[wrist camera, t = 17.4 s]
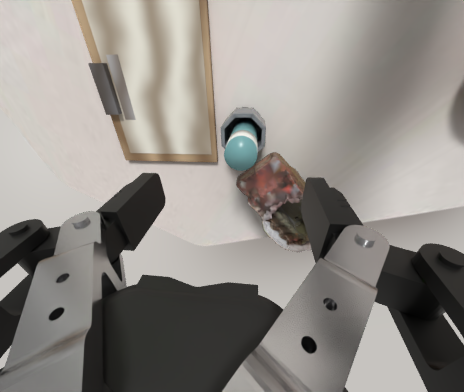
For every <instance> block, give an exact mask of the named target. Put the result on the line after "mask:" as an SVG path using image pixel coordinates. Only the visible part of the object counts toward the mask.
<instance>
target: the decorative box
mask: <svg viewBox="0 0 464 392" xmlns="http://www.w3.org/2000/svg"><path fill="white" fill-rule="evenodd" d="M236 185H237V187H238V188H239V189H240V190H241V192H242V193H243V194H244V195H246V196H247V197H248V204H249V205H250V206H251V207H252V208H253V209H254V210H256V212H257V213H258V214H259V215H260V217H261V218H262V219H263V221H262V224H263V228H264V231H265V232H266V233H267V235H268V236H269V237H270V238H272V239H273V240H274V242H275V243H277V244H278V245H279V246H281V247H282V248H285V250H291V251H296V252H302V251H305V250H312V249H311V245H310V242H309V238H308V235H307V231H306V228H305V224H304V221H303V218H302V214H301V202H302V197H303V192H304V188H305V181H304V180H303V179H302V177H301V176H300V175H299V173H298V172H297V171H296V170H295V169H294V168H292V167H291V166H289V164H288V163H287V162H286V161H285V160H284V159H283V157H282V156H280V154H278V153H276V152H273V153H270V154H269V155H267V156H266V157H265V158H263V159H262V160H260V161H259V162H257V163H256V164H255V165H253V166H252V167H251V168H249V169H248V170H246V171H245V172H244V173H242V174H241V175H240V176H238V178H237V184H236Z"/></svg>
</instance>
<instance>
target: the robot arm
mask: <svg viewBox="0 0 464 392" xmlns="http://www.w3.org/2000/svg"><path fill="white" fill-rule="evenodd" d="M164 205H165V195H164V191H163V187H162V184H161V180H160V177H159V175H158V174H157V173H142V174H141V175H140V176H139V177H138V178H137V179H135V180H134V181H133V182H132V183H130V184H128V185H126V186H125V187H123V188H122V189H121V190H120V191H119V192H118V193H117V194H115V195H114V197H112V198H111V199H110V200H109V201H107V202H106V203H105V204H104V205H103V206H102V207H101V208H100V209H98V210H97V211H96V212H94V211H88V212H83V213H80V214H77V215H75V216H73V217H71V218H69V219H68V220H66V221H65V222H64V223H63V224H62V226H61V227H54V228H49V229H47V228H46V226H45V225H44V224H43V222H42V221H41V220H38V219H33V220H27V221H23V222H20V223H17V224H15V225H13V226H11V227H9V228H7V229H5V230H4V231H2V232H1V233H0V277H1V276H3V275H4V274H5V273H6V272H7V271H9V270H10V269H11V268H12V267H13V266H15V265H16V264H17V263H18V264H19V265H20V266H21V267H22V268H23V269H24V270H25V271H26V272H27V273H28V274H29V275H28V276H27V277H26V278H25V279H23V280H22V281H21V282H20V283H19V284H18V285H17V286H16V287H15V288H14V289H13V290H12V291H11V292H10V293H9V294H8V295H7V296H6V297H5V298H4V299H3V300H1V301H0V358H1V357H2V355H3V354H4V353H5V352H6V351H7V349H8V348H9V347H10V346H11V345H12V346H11V349H10V352H9V356H8V358H7V362H6V364H5V367H3V368H2V369H0V392H348V391H347V389H346V388H345V384H346V381H347V378H348V375H349V372H350V369H351V366H352V363H353V361H354V358H355V355H356V352H357V349H358V347H359V343H360V341H361V338H362V335H363V332H364V329H365V327H366V324H367V321H368V318H369V315H370V312H371V309H372V306H373V303H374V302H377V303H379V304H382V305H385V306H387V307H388V309H389V311H390V313H391V315H392V317H393V319H394V322H395V324H396V326H397V328H398V330H399V332H400V334H401V336H402V338H403V340H404V342H405V345H406V347H407V349H408V351H409V353H410V355H411V357H412V359H413V361H414V364H415V366H416V368H417V370H418V372H419V374H420V376H421V378H422V380H423V382H424V384H425V387H426V389H427V391H428V392H464V345H463V343H462V342H461V340H460V339H459V338H458V336H457V335H456V333H455V332H454V330H453V329H452V327H451V326H450V324H449V323H448V321H447V320H446V319H445V317H444V316H443V313H445V312H446V313H447V314H448V316H449V317H450V319H451V320H452V321H453V323H454V324H455V326H456V327H457V329H458V330H459V331H460V333H461V334H462V336H463V338H464V254H463V253H461V252H459V251H457V250H455V249H452V248H450V247H447V246H443V245H439V244H425V245H423V246H422V247H421V248H420V249H419V251H418V252H413V251H409V250H405V249H402V248H398V247H394V246H391V245H389V242H388V241H387V239H386V238H385V237H384V236H383V235H382V234H380V233H379V232H377V231H376V230H374V229H371V228H369V227H366V226H363V224H362V223H361V221H360V220H359V218H358V217H357V215H356V214H355V212H354V211H353V209H352V208H351V207H350V205H349V203H348V202H347V200H346V199H345V197H344V195H343V194H342V193H341V192H339V191H338V190H336V189H335V188H329V186H328V184H327V183H326V181H325V179H324V178H307V179H306V183H305V188H304V192H303V197H302V202H301V214H302V218H303V221H304V224H305V228H306V231H307V235H308V238H309V242H310V245H311V249H312V252H313V255H314V259H315V262H316V264H315V266H314V267H313V269H312V270H311V271H310V273H309V274H308V276H307V277H306V279H305V280H304V281H303V283H302V284H301V286H300V287H299V289H298V290H297V292H296V293H295V294H294V296H293V297H292V299H291V300H290V301H289V303H288V304H287V306H286V307H285V309H284V310H283V309H282V308H281V307H280V306H278V305H277V304H275V303H274V302H272V301H271V300H269V299H267V298H265V297H262V296H260V295H258V285H250V284H239V283H221V284H215V285H208V286H202V287H194V286H191V285H189V284H186V283H183V282H181V281H178V280H176V279H172V278H170V277H162V276H150V275H142V277H141V279H140V280H139V282H138V284H136V285H132V286H129V287H127V286H126V279H125V272H124V265H123V258H122V255H121V254H120V253H121V252H122V251H123V250H131V251H134V250H135V249H136V247H137V246H138V244H139V243H140V241H141V240H142V238H143V237H144V235H145V234H146V232H147V231H148V230H149V228H150V227H151V225H152V224H153V222H154V221H155V219H156V218H157V216H158V215H159V213H160V212H161V211H162V209H163V208H164Z"/></svg>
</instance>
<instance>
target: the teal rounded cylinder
mask: <svg viewBox="0 0 464 392" xmlns="http://www.w3.org/2000/svg"><path fill="white" fill-rule="evenodd" d="M257 153H258V144H257V128H256V125H255V124H254V123H253V122H252V121H251V120H248V119H242V120H240V121H238V122H237V123H236V124H235V126H234V128H233V131H232V133H231V136H230V138H229V140H228V143H227V145H226V149H225V152H224V157H225V161H226V163H227V164H228V165H229V166H230V167H231V168H233V169H235V170H239V171H243V170H247V169H249V168H251V167H252V166H253V165H254V164H255V162H256V160H257Z"/></svg>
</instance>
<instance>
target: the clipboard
mask: <svg viewBox="0 0 464 392" xmlns="http://www.w3.org/2000/svg"><path fill="white" fill-rule="evenodd" d="M72 3H73V6H74V9H75V12H76V15H77V18H78V21H79V24H80V27H81V30H82V33H83V36H84V38H85V41H86V44H87V47H88V50H89V53H90V56H91V59H92V62H93V63H88V64H89V67H90V69H91V72H92V75H93V78H94V81H95V84H96V87H97V89H98V92H99V95H100V98H101V101H102V104H103V106H104V109H105V112H106V115H111V118H112V121H113V124H114V127H115V130H116V133H117V136H118V138H119V141H120V144H121V147H122V150H123V153H124V156H125V159H126V160H140V161H186V162H217V161H218V156H217V140H216V125H215V110H214V94H213V79H212V63H211V48H210V32H209V17H208V1H207V0H72Z"/></svg>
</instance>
